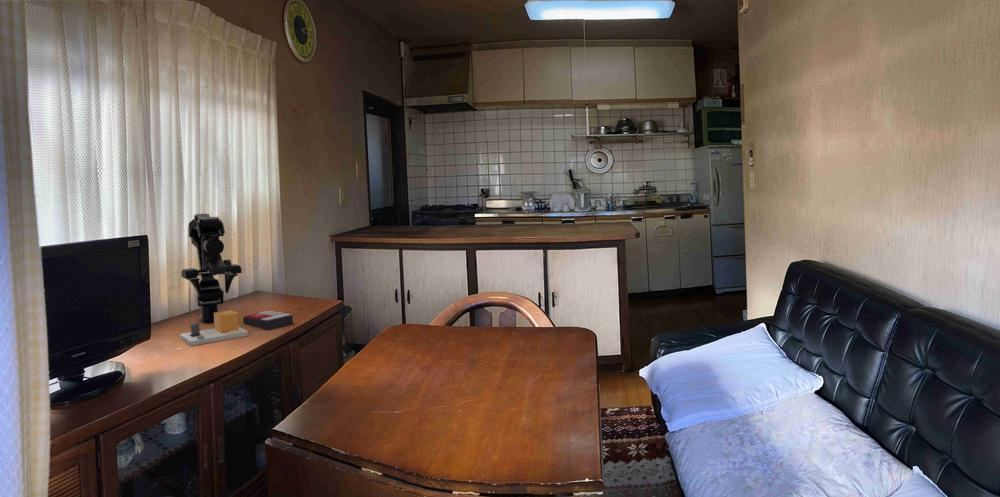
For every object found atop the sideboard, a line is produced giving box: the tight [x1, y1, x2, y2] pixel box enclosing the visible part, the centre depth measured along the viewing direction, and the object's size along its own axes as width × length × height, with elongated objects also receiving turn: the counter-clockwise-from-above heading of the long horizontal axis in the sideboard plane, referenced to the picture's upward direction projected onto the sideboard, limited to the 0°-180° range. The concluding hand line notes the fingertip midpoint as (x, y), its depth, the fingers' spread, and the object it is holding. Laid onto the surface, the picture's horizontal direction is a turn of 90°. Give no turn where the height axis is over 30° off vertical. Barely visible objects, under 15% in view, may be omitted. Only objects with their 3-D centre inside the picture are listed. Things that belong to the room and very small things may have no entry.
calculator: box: [242, 310, 294, 331], centre depth 214 cm, size 11×4×15 cm
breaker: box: [190, 322, 201, 336], centre depth 193 cm, size 3×3×4 cm
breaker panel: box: [179, 326, 249, 347], centre depth 196 cm, size 12×18×2 cm, turn 134°
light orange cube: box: [213, 309, 240, 333], centre depth 200 cm, size 6×6×6 cm
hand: (213, 294), depth 207 cm, fingers open, 9 cm apart
